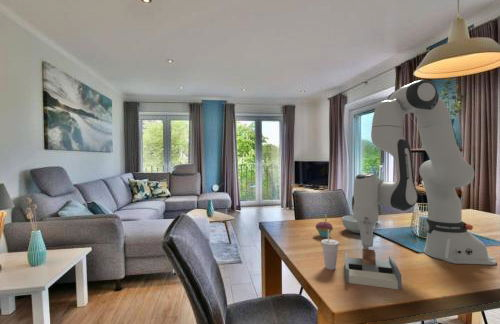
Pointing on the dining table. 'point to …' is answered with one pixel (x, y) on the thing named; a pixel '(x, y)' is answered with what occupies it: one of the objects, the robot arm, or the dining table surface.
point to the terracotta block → (368, 256)
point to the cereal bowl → (351, 224)
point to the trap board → (373, 273)
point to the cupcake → (324, 228)
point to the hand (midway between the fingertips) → (365, 250)
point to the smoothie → (330, 252)
